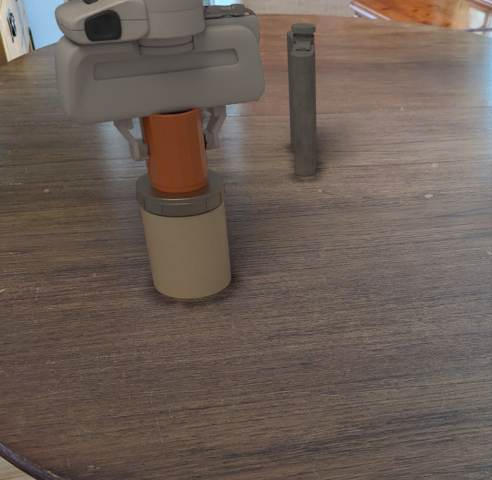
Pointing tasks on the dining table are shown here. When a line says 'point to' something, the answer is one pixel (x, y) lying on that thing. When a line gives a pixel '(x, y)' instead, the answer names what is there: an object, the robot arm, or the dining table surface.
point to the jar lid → (180, 197)
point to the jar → (188, 253)
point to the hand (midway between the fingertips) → (175, 153)
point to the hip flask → (302, 97)
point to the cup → (175, 151)
